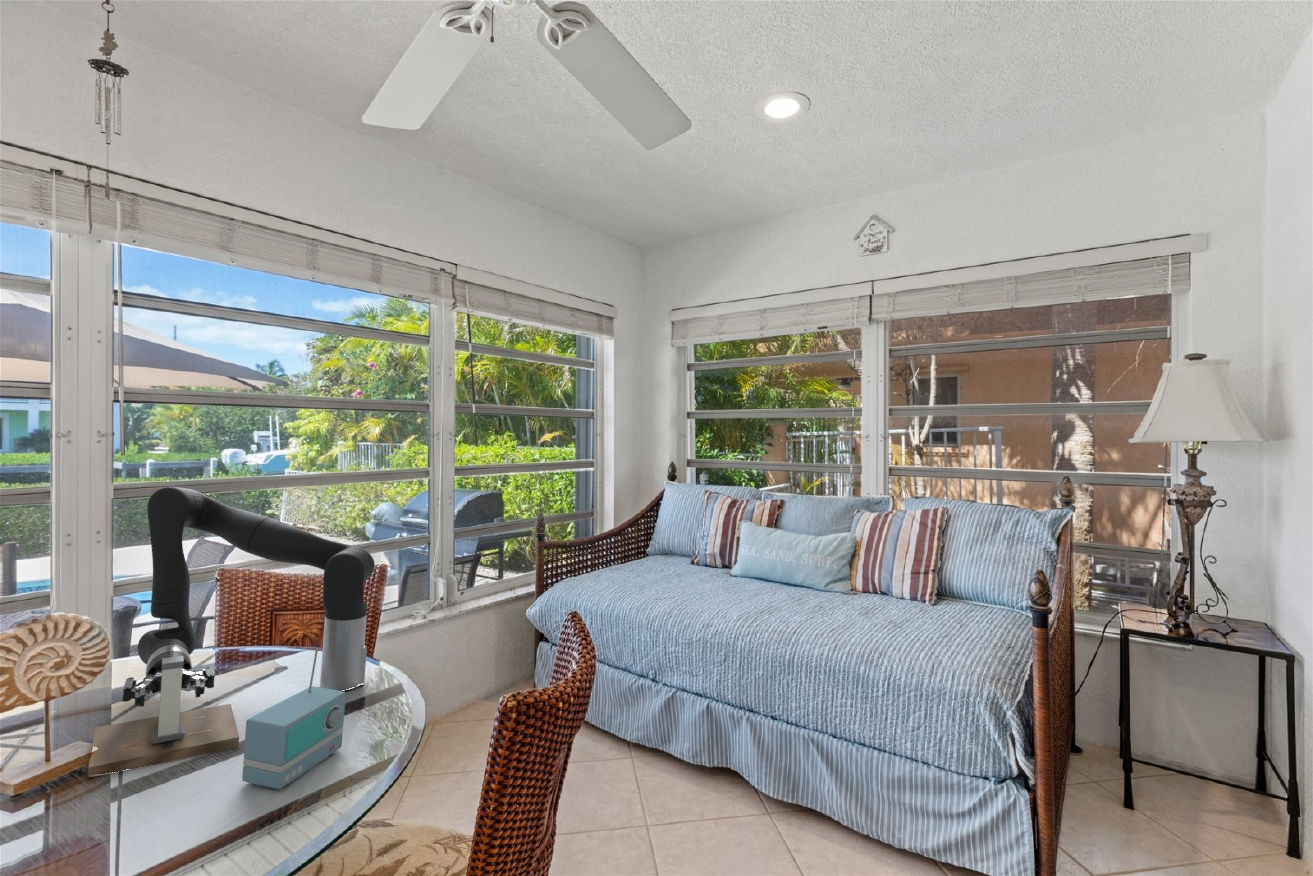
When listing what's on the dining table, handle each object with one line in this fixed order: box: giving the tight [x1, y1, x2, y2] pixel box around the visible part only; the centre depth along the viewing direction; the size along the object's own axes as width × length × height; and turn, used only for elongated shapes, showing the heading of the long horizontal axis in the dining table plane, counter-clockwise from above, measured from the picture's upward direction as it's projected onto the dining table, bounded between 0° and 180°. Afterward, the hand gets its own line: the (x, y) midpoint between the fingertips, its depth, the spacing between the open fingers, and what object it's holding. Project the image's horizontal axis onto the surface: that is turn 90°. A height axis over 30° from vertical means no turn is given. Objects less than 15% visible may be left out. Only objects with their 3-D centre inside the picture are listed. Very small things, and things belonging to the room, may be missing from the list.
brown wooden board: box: [87, 703, 240, 777], centre depth 124 cm, size 22×17×2 cm
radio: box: [241, 648, 346, 790], centre depth 118 cm, size 16×9×20 cm, turn 168°
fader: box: [151, 656, 185, 744], centre depth 121 cm, size 5×4×15 cm
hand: (171, 697), depth 120 cm, fingers open, 8 cm apart
